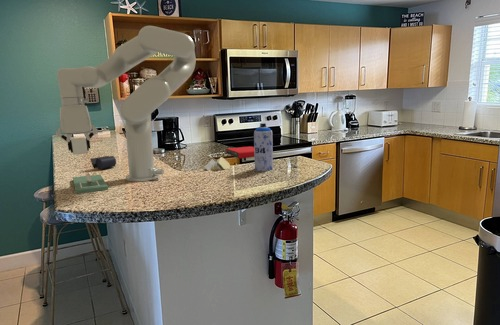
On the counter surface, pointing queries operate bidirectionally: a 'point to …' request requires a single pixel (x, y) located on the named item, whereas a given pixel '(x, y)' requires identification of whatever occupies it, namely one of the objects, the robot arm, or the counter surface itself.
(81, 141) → the plug cap
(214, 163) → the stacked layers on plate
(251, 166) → the counter surface
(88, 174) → the grey peg pair
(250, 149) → the red device housing
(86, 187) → the header board
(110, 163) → the speaker
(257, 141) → the aerosol can
